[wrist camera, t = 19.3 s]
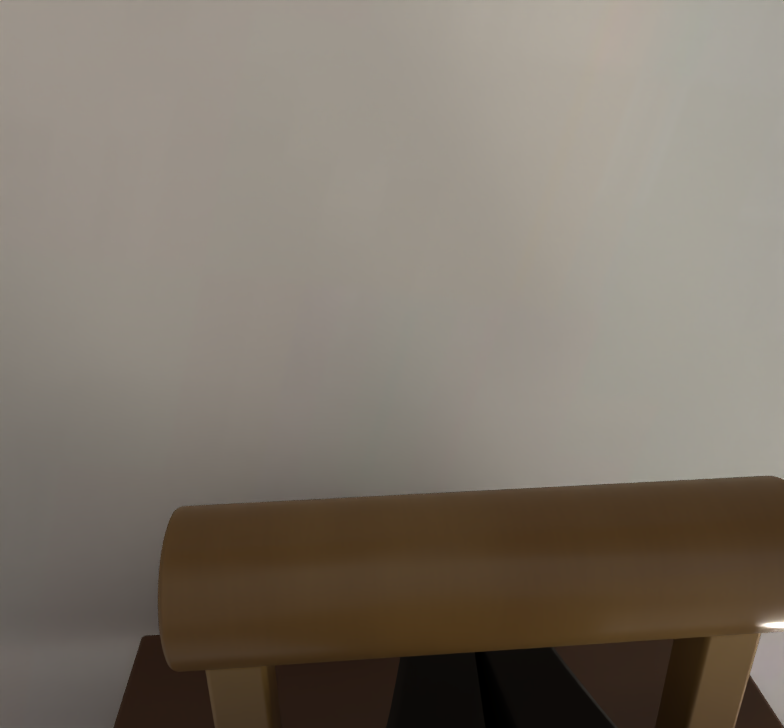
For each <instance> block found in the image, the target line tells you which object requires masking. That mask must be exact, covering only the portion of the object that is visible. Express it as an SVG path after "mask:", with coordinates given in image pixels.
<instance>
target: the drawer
mask: <svg viewBox="0 0 784 728" xmlns="http://www.w3.org/2000/svg"><path fill="white" fill-rule="evenodd" d="M158 620H159V631H160V635H146V636H143V637H142V639H141V641H140V645H139V648H138V651H137V654H136V657H135V661H134V664H133V667H132V670H131V673H130V676H129V680H128V683H127V686H126V689H125V692H124V695H123V699H122V702H121V705H120V708H119V711H118V714H117V718H116V721H115V724H114V727H113V728H386V726H387V722H388V717H389V713H390V709H391V704H392V698H393V693H394V688H395V683H396V678H397V672H398V667H399V662H400V657H410V656H425V655H440V654H455V653H470V652H485V651H500V650H515V649H530V648H545V647H554V648H555V650H556V651H557V652H558V654H559V655H560V656H561V658H562V659H563V660H564V662H565V663H566V664H567V666H568V667H569V668H570V669H571V671H572V672H573V673H574V674H575V676H576V677H577V678H578V680H579V681H580V682H581V683H582V685H583V686H584V687H585V688H586V690H587V691H588V692H589V693H590V695H591V696H592V697H593V698H594V700H595V701H596V702H597V703H598V705H599V706H600V707H601V708H602V710H603V711H604V712H605V713H606V714H607V716H608V717H609V718H610V719H611V720H612V721H613V723H614V724H615V725H616V726H617V727H618V728H784V727H783V725H782V724H781V722H780V721H779V719H778V718H777V716H776V714H775V713H774V711H773V710H772V708H771V707H770V705H769V704H768V702H767V701H766V699H765V698H764V696H763V694H762V693H761V691H760V690H759V688H758V687H757V685H756V684H755V682H754V681H753V679H752V678H751V676H750V671H751V668H752V664H753V661H754V657H755V653H756V650H757V646H758V643H759V639H760V636H761V633H769V632H784V480H783V479H781V478H778V477H774V476H754V477H734V478H715V479H696V480H677V481H657V482H638V483H619V484H600V485H580V486H561V487H542V488H523V489H503V490H484V491H465V492H446V493H426V494H407V495H388V496H369V497H349V498H330V499H311V500H292V501H272V502H253V503H234V504H215V505H195V506H182V507H179V508H177V509H176V510H175V511H174V512H173V514H172V516H171V518H170V520H169V523H168V526H167V529H166V532H165V536H164V540H163V545H162V550H161V557H160V566H159V578H158Z"/></svg>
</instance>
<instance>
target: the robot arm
mask: <svg viewBox="0 0 784 728" xmlns="http://www.w3.org/2000/svg"><path fill="white" fill-rule="evenodd" d="M386 728H618V727H617V726H616V725H615V724H614V723H613V721H612V720H611V719H610V718H609V717H608V716H607V714H606V713H605V712H604V711H603V710H602V708H601V707H600V706H599V705H598V703H597V702H596V701H595V700H594V698H593V697H592V696H591V695H590V693H589V692H588V691H587V690H586V688H585V687H584V686H583V685H582V683H581V682H580V681H579V680H578V678H577V677H576V676H575V674H574V673H573V672H572V671H571V669H570V668H569V667H568V666H567V664H566V663H565V662H564V660H563V659H562V658H561V656H560V655H559V654H558V652H557V651H556V650H555V648H554V647H545V648H530V649H515V650H500V651H485V652H470V653H455V654H440V655H425V656H410V657H400V662H399V667H398V672H397V678H396V683H395V688H394V693H393V698H392V704H391V709H390V713H389V717H388V722H387V726H386Z"/></svg>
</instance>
